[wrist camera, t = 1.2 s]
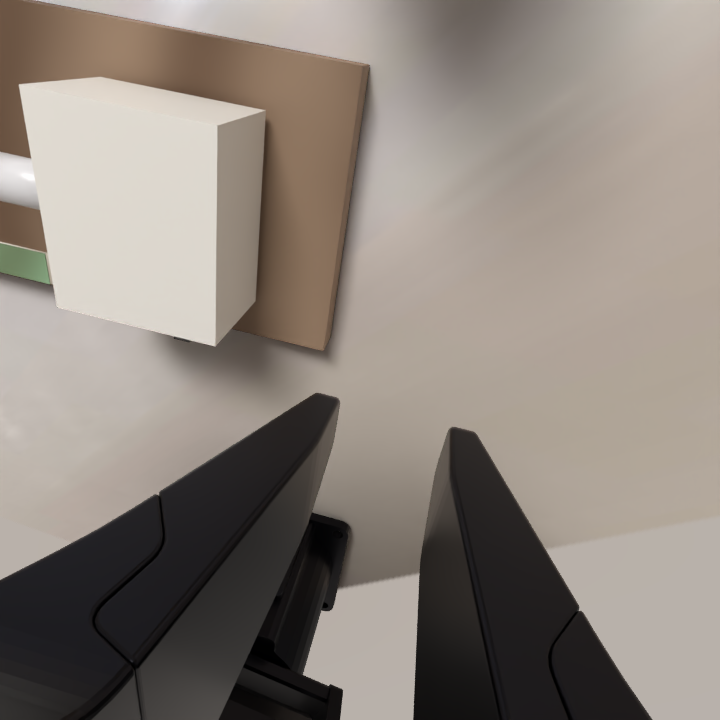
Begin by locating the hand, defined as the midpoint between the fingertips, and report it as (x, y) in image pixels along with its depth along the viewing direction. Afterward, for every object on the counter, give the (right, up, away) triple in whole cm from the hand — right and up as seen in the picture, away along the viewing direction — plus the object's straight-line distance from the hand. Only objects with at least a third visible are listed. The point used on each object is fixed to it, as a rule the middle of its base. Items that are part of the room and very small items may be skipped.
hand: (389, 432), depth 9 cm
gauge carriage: (-8, +6, +9) cm, 13 cm away
